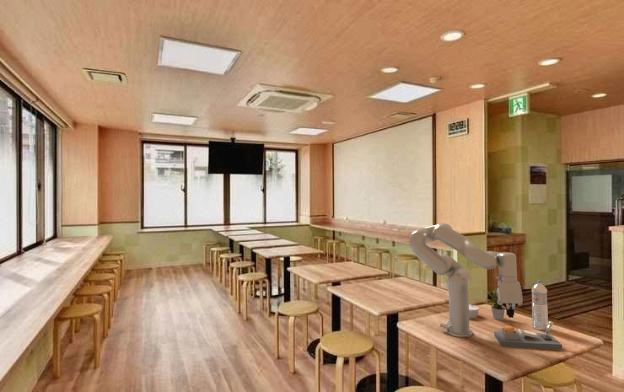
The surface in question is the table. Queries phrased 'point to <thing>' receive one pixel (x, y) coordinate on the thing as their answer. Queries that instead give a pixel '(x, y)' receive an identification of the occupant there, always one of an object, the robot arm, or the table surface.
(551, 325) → the toggle lever
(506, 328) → the push button
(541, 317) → the water bottle
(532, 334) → the rocker switch
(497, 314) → the house plant
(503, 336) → the control panel
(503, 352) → the table surface
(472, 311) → the ramekin
